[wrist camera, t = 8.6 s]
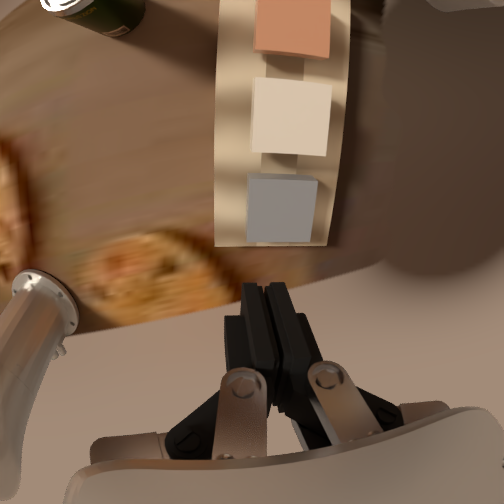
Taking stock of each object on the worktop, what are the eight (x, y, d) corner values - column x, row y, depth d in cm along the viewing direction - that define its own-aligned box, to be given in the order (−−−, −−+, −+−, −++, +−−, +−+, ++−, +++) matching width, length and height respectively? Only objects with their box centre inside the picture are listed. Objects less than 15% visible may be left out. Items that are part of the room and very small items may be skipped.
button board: (318, 233, 34) (326, 245, 31) (215, 233, 32) (214, 246, 30) (339, 4, 20) (350, -3, 18) (221, -10, 19) (221, -20, 16)
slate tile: (300, 225, 31) (309, 241, 27) (243, 225, 30) (246, 242, 27) (306, 170, 28) (318, 181, 24) (245, 168, 27) (249, 178, 24)
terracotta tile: (315, 62, 22) (329, 58, 19) (250, 55, 21) (255, 49, 18) (317, 8, 19) (330, -2, 16) (253, 0, 18) (258, -13, 15)
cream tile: (312, 148, 25) (325, 156, 22) (247, 144, 25) (251, 152, 21) (317, 86, 22) (332, 85, 19) (250, 80, 22) (255, 77, 18)
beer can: (152, 24, 20) (111, -13, 10) (104, 46, 20) (42, 28, 10) (141, -13, 17) (100, -60, 7) (94, 9, 18) (35, -21, 7)
